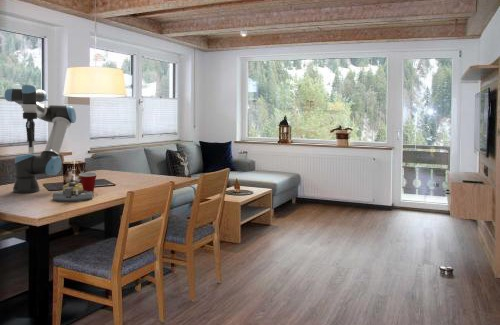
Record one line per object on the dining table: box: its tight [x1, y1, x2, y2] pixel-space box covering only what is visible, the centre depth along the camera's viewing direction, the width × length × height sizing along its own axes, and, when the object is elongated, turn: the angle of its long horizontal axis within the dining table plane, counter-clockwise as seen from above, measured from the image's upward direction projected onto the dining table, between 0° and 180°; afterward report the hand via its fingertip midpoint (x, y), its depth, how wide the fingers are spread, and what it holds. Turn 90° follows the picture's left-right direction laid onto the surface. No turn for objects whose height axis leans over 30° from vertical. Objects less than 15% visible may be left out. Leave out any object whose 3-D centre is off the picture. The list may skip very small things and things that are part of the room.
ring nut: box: [62, 181, 83, 196], centre depth 270 cm, size 18×11×6 cm, turn 7°
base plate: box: [52, 190, 94, 203], centre depth 274 cm, size 22×22×6 cm
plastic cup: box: [78, 171, 98, 193], centre depth 293 cm, size 11×11×12 cm
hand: (31, 152), depth 272 cm, fingers closed
